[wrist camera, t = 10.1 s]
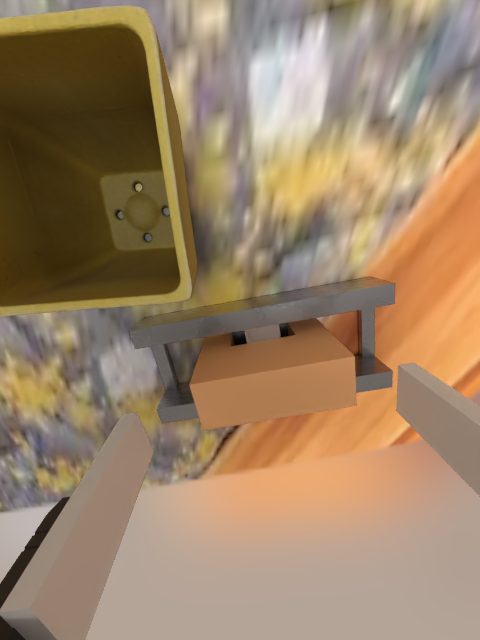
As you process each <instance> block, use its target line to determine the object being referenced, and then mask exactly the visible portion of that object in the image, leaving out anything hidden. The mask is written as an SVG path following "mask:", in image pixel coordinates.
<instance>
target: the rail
mask: <svg viewBox="0 0 480 640" xmlns="http://www.w3.org/2000/svg"><path fill="white" fill-rule="evenodd" d="M391 304H395V283H392V282H389V281H385V280H381V279H377V278H374V277H366V278H360V279H355V280H349V281H343V282H338V283H332V284H327V285H321V286H316V287H310V288H305V289H299V290H294V291H288V292H283V293H277V294H272V295H266V296H260V297H255V298H249V299H244V300H238V301H233V302H227V303H222V304H216V305H211V306H205V307H200V308H194V309H189V310H183V311H177V312H172V313H166V314H161V315H155V316H150V317H145V318H144V319H142V320H141V321H140V322H139V323H138V324H136V325H135V326H134V327H133V328H132V329H130V330H129V333H130V336H131V339H132V342H133V344H134V347H135V349H139V348H145V347H150V346H151V348H152V351H153V354H154V357H155V360H156V363H157V366H158V369H159V372H160V375H161V378H162V381H163V384H164V387H165V390H166V391H165V393H164V395H163V397H162V399H161V401H160V403H159V405H158V408H157V411H158V414H159V417H160V420H161V422H162V423H168V422H174V421H181V420H187V419H193V418H199V415H198V412H197V409H196V405H195V402H194V399H193V395H192V392H191V389H190V385H189V384H190V383H185V384H179V385H178V381H177V378H176V375H175V372H174V368H173V365H172V362H171V359H170V356H169V352H168V349H167V346H166V344H168V343H173V342H179V341H185V340H190V339H196V338H202V337H208V336H213V335H219V334H225V333H231V332H236V331H242V330H244V331H245V336H246V341H247V344H248V343H253V342H259V341H265V340H270V339H276V338H281V335H280V328H279V324H282V323H288V322H294V321H299V320H305V319H311V318H316V317H322V316H328V315H334V314H339V313H345V312H351V311H357V310H358V334H359V355H354V356H355V374H356V393H357V392H364V391H370V390H376V389H382V388H389V387H392V375H393V371H392V370H391V369H390V368H388V367H387V366H386V365H385V364H384V363H382V362H381V361H380V360H379V359H378V358H376V357H375V307H379V306H385V305H391Z"/></svg>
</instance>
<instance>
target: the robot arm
mask: <svg viewBox="0 0 480 640" xmlns="http://www.w3.org/2000/svg"><path fill="white" fill-rule="evenodd" d="M396 411H397V412H398V413H399V414H400V415H401V416H402V417H403V418H404V419H405V420H406V421H407V422H408V423H409V424H410V425H411V426H412V427H413V428H414V429H415V430H416V431H417V433H418V434H419V435H420V436H421V437H422V438H423V439H424V440H425V441H426V442H427V443H428V444H429V445H430V446H431V447H432V448H433V449H434V450H435V451H436V452H437V453H438V454H439V455H440V456H441V457H442V458H443V459H444V460H445V461H446V462H447V463H448V464H449V465H450V466H451V467H452V468H453V469H454V471H455V472H457V474H458V475H459V476H460V477H461V478H462V479H463V480H464V481H465V482H466V483H467V484H468V485H469V486H470V487H471V488H472V489H473V490H474V491H475V492H476V493H477V494H478V495H479V496H480V406H479V405H477V404H476V403H474V402H473V401H471V400H469V399H468V398H466V397H465V396H463V395H462V394H460V393H459V392H457V391H456V390H454V389H453V388H451V387H450V386H448V385H447V384H445V383H444V382H442V381H441V380H439V379H438V378H436V377H435V376H433V375H432V374H430V373H429V372H427V371H426V370H424V369H423V368H421V367H420V366H418V365H417V364H415V363H409V364H404V365H398V386H397V409H396ZM152 456H153V450H152V448H151V445H150V443H149V440H148V438H147V435H146V433H145V430H144V428H143V425H142V422H141V420H140V417H139V415H138V412H132V413H127V414H122V416H121V417H120V419H119V420H118V422H117V424H116V425H115V427H114V428H113V430H112V432H111V433H110V435H109V436H108V438H107V440H106V441H105V443H104V444H103V446H102V448H101V449H100V451H99V452H98V454H97V456H96V457H95V459H94V460H93V462H92V464H91V465H90V467H89V468H88V470H87V472H86V473H85V475H84V476H83V478H82V480H81V481H80V483H79V484H78V486H77V487H76V489H75V491H74V492H73V494H72V495H71V497H66V498H62V499H61V500H60V501H59V502H58V503H57V505H56V506H55V507H54V508H53V509H52V510H51V511H50V512H49V513H48V514H47V515H46V517H45V518H44V520H43V521H42V523H41V524H40V526H39V527H38V529H37V530H36V532H35V535H34V536H32V538H31V539H30V541H29V542H28V544H27V545H26V546H25V550H24V551H23V552H21V554H20V556H19V557H18V558H17V560H16V561H15V563H14V564H13V566H12V567H11V569H10V570H9V572H8V573H7V575H6V576H5V578H4V579H3V581H2V582H1V584H0V640H85V639H86V636H87V633H88V631H89V628H90V625H91V622H92V620H93V617H94V614H95V611H96V609H97V606H98V603H99V601H100V598H101V595H102V592H103V590H104V587H105V584H106V581H107V579H108V576H109V573H110V570H111V568H112V565H113V562H114V560H115V557H116V554H117V551H118V549H119V546H120V543H121V540H122V537H123V535H124V532H125V529H126V527H127V524H128V521H129V518H130V516H131V513H132V510H133V508H134V505H135V502H136V499H137V497H138V494H139V491H140V488H141V486H142V483H143V480H144V477H145V475H146V472H147V469H148V467H149V464H150V461H151V458H152Z"/></svg>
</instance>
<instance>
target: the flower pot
mask: <svg viewBox="0 0 480 640" xmlns="http://www.w3.org/2000/svg"><path fill="white" fill-rule="evenodd" d="M135 183H140V184H141V185H142V190H141V191H140V192H138V191H136V190H135V189H134V184H135ZM164 207H168V208H169V211H170V214H169V215H168V216H165V215H164V214H163V212H162V209H163V208H164ZM117 211H122V212H123V213H124V218H123V219H119V218H118V217H117V215H116V213H117ZM146 233H148V234H150V235H151V237H152V240H151V241H150V242H147V241H146V240H145V239H144V235H145V234H146ZM196 274H197V257H196V250H195V243H194V236H193V229H192V222H191V215H190V208H189V200H188V192H187V184H186V176H185V167H184V159H183V150H182V141H181V132H180V126H179V120H178V115H177V111H176V107H175V103H174V99H173V95H172V91H171V87H170V83H169V79H168V75H167V71H166V67H165V63H164V59H163V55H162V52H161V48H160V44H159V41H158V37H157V34H156V30H155V27H154V24H153V22H152V20H151V18H150V16H149V14H148V13H147V11H146V10H145V9H143V8H141V7H137V6H127V5H122V6H105V7H96V8H85V9H78V10H71V11H63V12H52V13H41V14H33V15H24V16H14V17H7V18H0V317H2V316H13V315H24V314H36V313H47V312H59V311H72V310H84V309H99V308H112V307H124V306H141V305H152V304H168V303H176V302H183V301H186V300H188V299H189V298H190V296H191V294H192V290H193V286H194V282H195V278H196Z"/></svg>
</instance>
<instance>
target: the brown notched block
mask: <svg viewBox="0 0 480 640" xmlns="http://www.w3.org/2000/svg"><path fill="white" fill-rule="evenodd" d="M287 326H288V334H289V336H287V337H281V338H276V339H270V340H265V341H259V342H253V343H248V344H242V345H236V346H235V345H234V340H233V335H232V332H231V333H225V334H219V335H213V336H208V337H205V339H204V342H203V345H202V348H201V351H200V354H199V357H198V360H197V363H196V366H195V369H194V372H193V375H192V378H191V381H190V384H189V385H190V389H191V392H192V395H193V399H194V402H195V405H196V409H197V412H198V415H199V418H200V422H201V425H202V428H203V430H209V429H215V428H222V427H228V426H234V425H240V424H246V423H252V422H259V421H265V420H271V419H277V418H283V417H290V416H296V415H302V414H308V413H314V412H321V411H327V410H333V409H339V408H345V407H352V406H357V403H356V374H355V356H354V355H353V354H352V353H351V352H350V351H349V350H348V349H347V348H346V347H345V346H344V345H343V344H342V343H341V342H340V341H339V340H338V339H337V338H336V337H335V336H334V335H333V334H331V333H330V332H329V331H328V330H327V329H326V328H325V327H324V326H323V325H322V324H321V323H320V322H319V321H318V320H317V319H316V318H311V319H305V320H299V321H294V322H288V323H287Z"/></svg>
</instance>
